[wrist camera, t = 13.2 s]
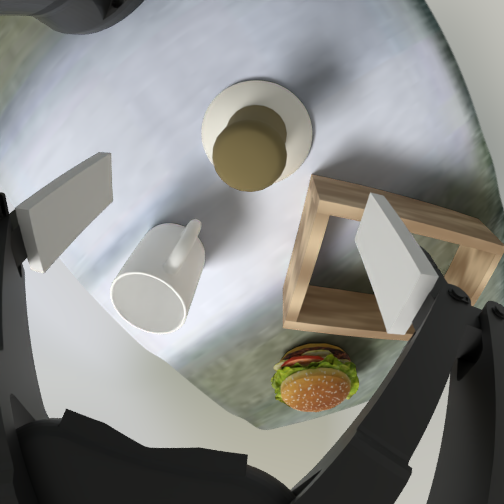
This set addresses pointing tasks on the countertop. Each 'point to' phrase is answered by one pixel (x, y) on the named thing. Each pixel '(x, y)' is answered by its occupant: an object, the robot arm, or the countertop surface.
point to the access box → (365, 305)
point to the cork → (251, 149)
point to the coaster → (271, 98)
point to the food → (315, 377)
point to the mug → (160, 278)
